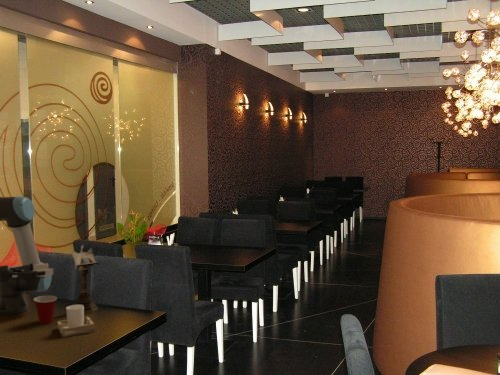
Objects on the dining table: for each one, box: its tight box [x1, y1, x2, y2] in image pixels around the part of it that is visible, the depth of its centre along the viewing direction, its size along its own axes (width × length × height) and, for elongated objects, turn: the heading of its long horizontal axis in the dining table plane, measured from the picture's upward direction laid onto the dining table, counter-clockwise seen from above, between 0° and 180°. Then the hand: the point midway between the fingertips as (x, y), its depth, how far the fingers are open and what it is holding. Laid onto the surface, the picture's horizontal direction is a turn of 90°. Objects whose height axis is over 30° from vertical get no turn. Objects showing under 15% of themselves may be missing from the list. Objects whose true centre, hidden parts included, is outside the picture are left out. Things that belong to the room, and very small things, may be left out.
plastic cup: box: [33, 295, 58, 325], centre depth 261 cm, size 11×11×12 cm
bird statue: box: [71, 244, 100, 315], centre depth 275 cm, size 17×13×35 cm
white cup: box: [65, 304, 85, 328], centre depth 247 cm, size 8×8×10 cm
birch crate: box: [56, 316, 95, 338], centre depth 247 cm, size 14×14×4 cm
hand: (50, 268), depth 241 cm, fingers open, 13 cm apart
